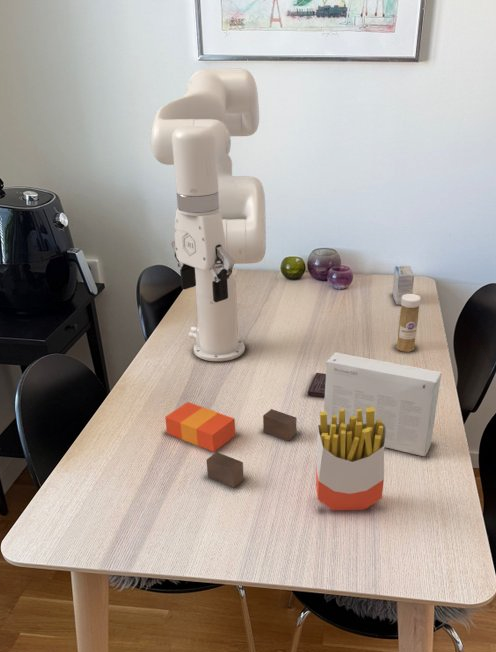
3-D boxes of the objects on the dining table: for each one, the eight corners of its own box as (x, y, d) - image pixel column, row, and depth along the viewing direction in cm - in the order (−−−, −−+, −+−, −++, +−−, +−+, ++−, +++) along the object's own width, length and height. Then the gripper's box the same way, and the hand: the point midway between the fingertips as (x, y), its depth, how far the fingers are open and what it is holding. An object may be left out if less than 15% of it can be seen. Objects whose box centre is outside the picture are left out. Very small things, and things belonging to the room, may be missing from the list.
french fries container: (380, 510, 114) (390, 421, 104) (317, 512, 114) (320, 423, 104) (376, 494, 118) (385, 406, 108) (315, 495, 118) (318, 408, 107)
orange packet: (166, 433, 134) (164, 416, 132) (189, 418, 139) (187, 401, 137) (213, 452, 129) (212, 434, 127) (235, 435, 134) (234, 418, 131)
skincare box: (432, 443, 131) (443, 371, 122) (425, 457, 127) (436, 384, 118) (331, 419, 138) (334, 350, 129) (321, 433, 134) (324, 362, 125)
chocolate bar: (316, 372, 153) (395, 381, 149) (316, 376, 153) (394, 385, 150) (307, 391, 146) (390, 401, 142) (307, 395, 146) (390, 405, 142)
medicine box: (411, 305, 187) (414, 275, 183) (395, 305, 188) (398, 275, 183) (407, 294, 194) (410, 265, 189) (391, 294, 194) (394, 265, 189)
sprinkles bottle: (402, 353, 163) (408, 301, 155) (392, 346, 166) (397, 294, 159) (418, 350, 164) (424, 298, 157) (408, 343, 168) (414, 291, 160)
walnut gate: (207, 477, 122) (206, 459, 120) (271, 425, 137) (271, 408, 134) (234, 488, 120) (233, 470, 117) (296, 434, 134) (296, 417, 132)
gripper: (153, 198, 123) (162, 287, 133) (213, 214, 113) (218, 310, 122) (185, 191, 128) (192, 278, 137) (245, 207, 117) (248, 300, 127)
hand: (204, 293), depth 130 cm, fingers open, 9 cm apart
